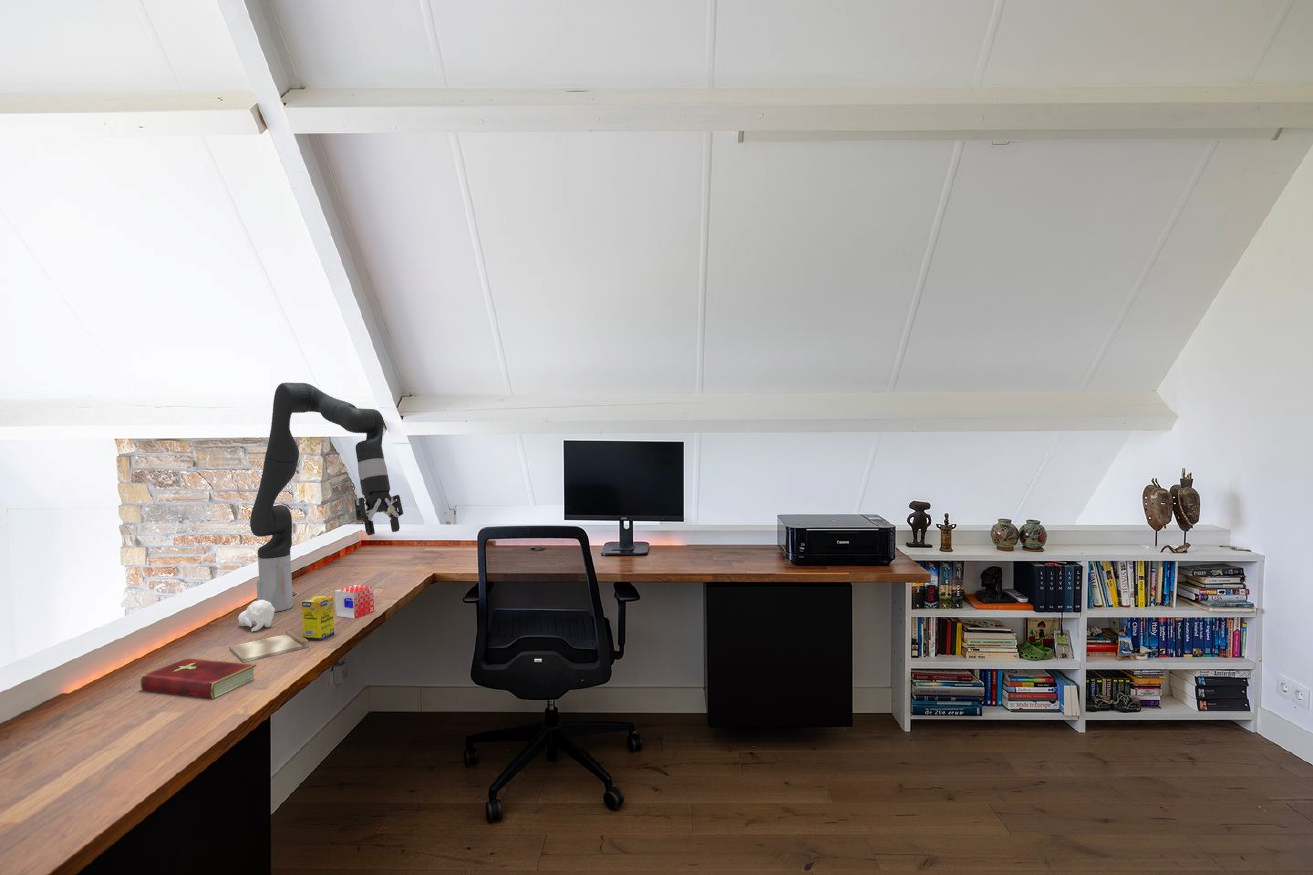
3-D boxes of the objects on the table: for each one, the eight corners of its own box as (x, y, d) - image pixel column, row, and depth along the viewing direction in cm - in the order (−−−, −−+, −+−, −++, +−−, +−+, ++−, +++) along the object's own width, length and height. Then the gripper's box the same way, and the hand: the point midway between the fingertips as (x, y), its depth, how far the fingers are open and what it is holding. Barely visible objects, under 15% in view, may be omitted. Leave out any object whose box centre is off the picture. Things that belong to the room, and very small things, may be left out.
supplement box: (321, 641, 196) (319, 602, 195) (302, 640, 197) (300, 601, 197) (335, 634, 202) (333, 596, 201) (316, 633, 203) (315, 595, 202)
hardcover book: (213, 701, 158) (212, 682, 158) (141, 692, 164) (140, 674, 163) (256, 680, 169) (256, 663, 169) (188, 673, 175) (187, 656, 175)
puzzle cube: (374, 611, 224) (373, 586, 223) (354, 618, 217) (353, 593, 216) (356, 608, 227) (355, 584, 227) (335, 615, 220) (334, 590, 220)
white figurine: (255, 603, 203) (229, 602, 209) (258, 632, 203) (232, 631, 209) (275, 597, 209) (249, 597, 214) (278, 626, 209) (252, 625, 215)
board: (243, 662, 180) (243, 655, 180) (229, 649, 191) (229, 642, 190) (308, 647, 191) (308, 640, 191) (292, 635, 201) (292, 629, 201)
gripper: (384, 479, 208) (394, 533, 206) (343, 480, 196) (353, 538, 193) (402, 473, 205) (412, 528, 203) (361, 474, 192) (372, 533, 190)
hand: (383, 533), depth 198 cm, fingers open, 8 cm apart
